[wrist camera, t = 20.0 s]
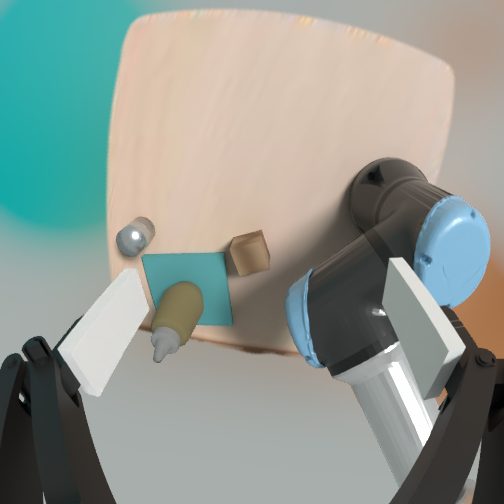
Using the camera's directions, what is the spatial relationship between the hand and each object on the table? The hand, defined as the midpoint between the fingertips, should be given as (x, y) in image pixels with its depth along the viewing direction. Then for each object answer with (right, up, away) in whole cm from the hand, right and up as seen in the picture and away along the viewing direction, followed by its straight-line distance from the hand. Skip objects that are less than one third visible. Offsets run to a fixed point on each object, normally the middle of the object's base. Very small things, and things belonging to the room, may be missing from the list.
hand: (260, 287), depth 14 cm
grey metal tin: (-21, +6, +35) cm, 41 cm away
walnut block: (0, +3, +35) cm, 35 cm away
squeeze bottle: (-13, -6, +39) cm, 42 cm away
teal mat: (-13, -6, +40) cm, 43 cm away
